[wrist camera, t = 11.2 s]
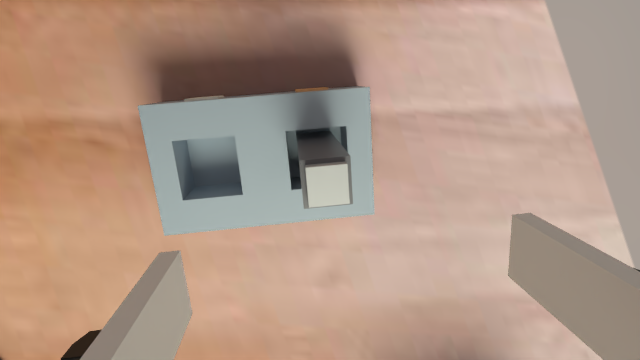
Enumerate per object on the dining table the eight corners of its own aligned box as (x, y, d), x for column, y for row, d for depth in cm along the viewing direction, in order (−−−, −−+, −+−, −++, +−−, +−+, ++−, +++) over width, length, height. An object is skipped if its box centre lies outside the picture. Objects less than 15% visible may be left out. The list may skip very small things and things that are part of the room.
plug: (299, 167, 38) (304, 213, 25) (296, 133, 37) (299, 163, 24) (332, 164, 38) (355, 207, 25) (330, 130, 37) (352, 158, 24)
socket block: (182, 213, 40) (164, 235, 34) (161, 100, 37) (137, 103, 31) (362, 195, 41) (374, 214, 35) (357, 84, 38) (369, 84, 32)
